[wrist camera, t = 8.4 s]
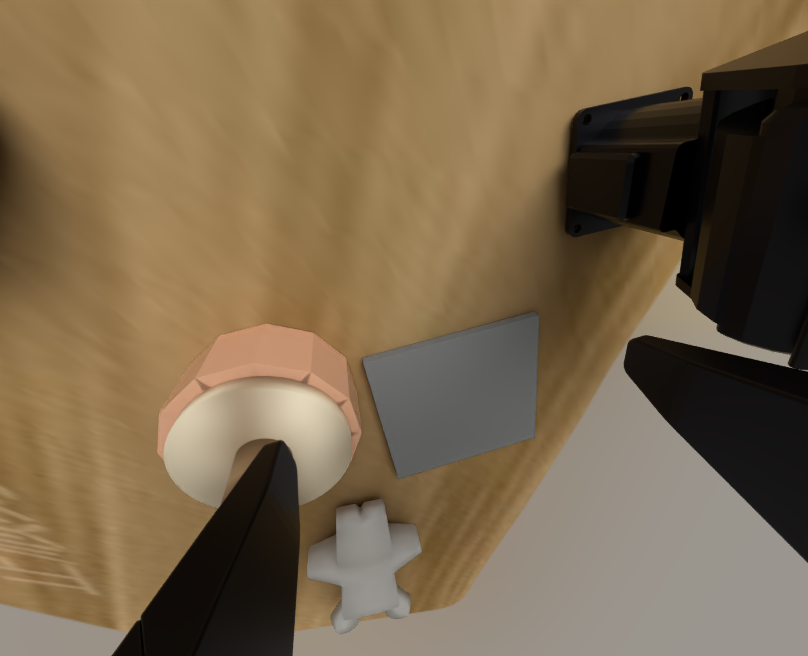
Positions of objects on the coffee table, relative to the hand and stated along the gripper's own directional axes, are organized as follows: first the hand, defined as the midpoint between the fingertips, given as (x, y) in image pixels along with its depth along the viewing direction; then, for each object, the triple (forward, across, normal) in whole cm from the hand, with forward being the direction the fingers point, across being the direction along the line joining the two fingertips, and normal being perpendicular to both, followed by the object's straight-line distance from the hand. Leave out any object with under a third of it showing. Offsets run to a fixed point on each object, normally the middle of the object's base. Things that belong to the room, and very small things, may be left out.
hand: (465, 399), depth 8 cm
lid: (+8, +9, +7) cm, 14 cm away
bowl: (+12, +9, +7) cm, 17 cm away
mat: (+12, -3, +12) cm, 17 cm away
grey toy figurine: (+12, +8, +26) cm, 30 cm away
